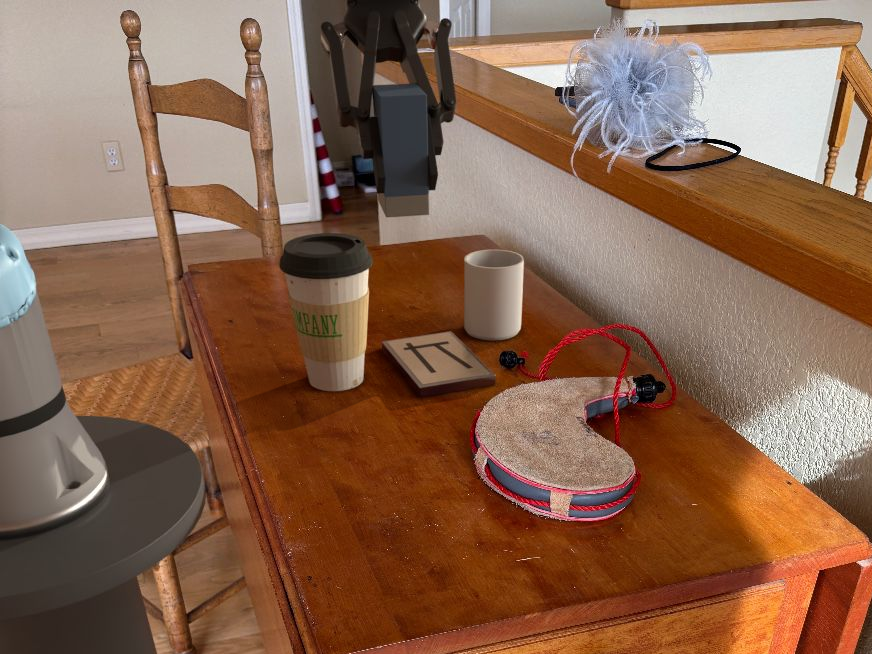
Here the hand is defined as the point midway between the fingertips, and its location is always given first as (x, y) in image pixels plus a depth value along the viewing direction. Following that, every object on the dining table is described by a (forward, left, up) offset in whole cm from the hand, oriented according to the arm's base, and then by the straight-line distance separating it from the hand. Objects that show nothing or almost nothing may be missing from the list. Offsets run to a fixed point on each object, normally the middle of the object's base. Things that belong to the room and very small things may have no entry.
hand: (407, 183), depth 93 cm
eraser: (+1, +4, -3) cm, 5 cm away
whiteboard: (+4, +3, -21) cm, 22 cm away
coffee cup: (-8, +4, -21) cm, 23 cm away
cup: (+14, +12, -21) cm, 29 cm away
